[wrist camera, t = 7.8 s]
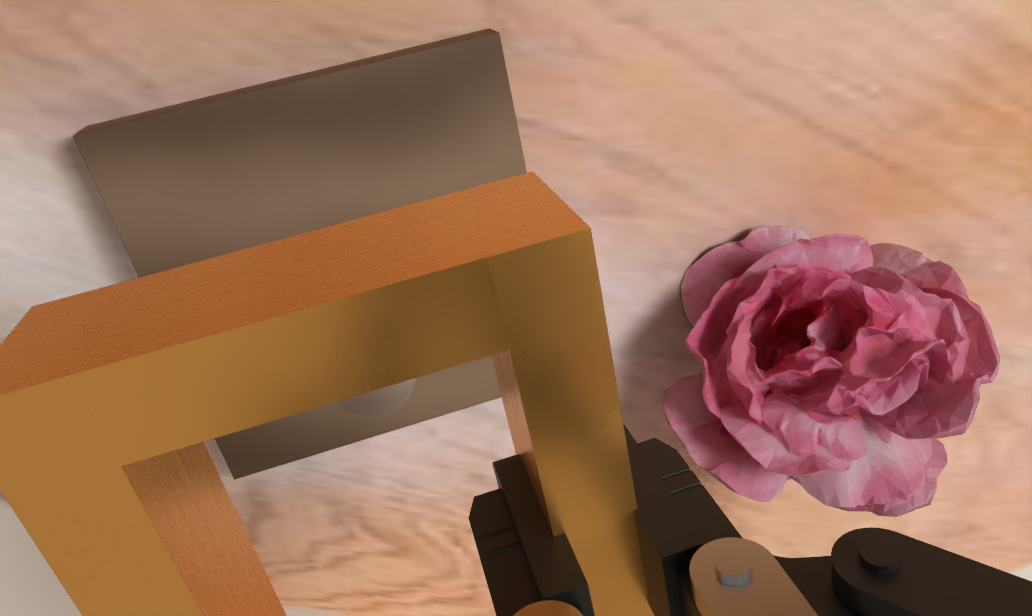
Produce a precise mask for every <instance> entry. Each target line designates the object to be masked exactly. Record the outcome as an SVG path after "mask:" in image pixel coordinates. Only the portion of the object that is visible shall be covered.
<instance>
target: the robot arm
mask: <svg viewBox="0 0 1032 616" xmlns="http://www.w3.org/2000/svg"><path fill="white" fill-rule="evenodd" d="M623 425H624V424H623ZM624 431H625V437H626V443H627V449H628V455H629V461H630V467H631V473H632V479H633V485H634V491H635V497H636V503H637V509H635V510H633V511H634V516H635V522H636V528H637V534H638V540H639V546H640V552H641V558H642V564H643V570H644V576H645V582H646V588H647V593H648V599H649V605H650V608H651V610H652V612H653V614H654V616H1032V582H1031V581H1028V580H1026V579H1023V578H1020V577H1018V576H1015V575H1012V574H1009V573H1007V572H1004V571H1001V570H999V569H996V568H993V567H990V566H988V565H985V564H982V563H979V562H977V561H974V560H971V559H968V558H966V557H963V556H960V555H958V554H955V553H952V552H949V551H947V550H944V549H941V548H938V547H936V546H933V545H930V544H927V543H925V542H922V541H919V540H916V539H914V538H911V537H908V536H906V535H903V534H900V533H897V532H894V531H891V530H887V529H882V528H861V529H856V530H853V531H850V532H848V533H846V534H844V535H842V536H841V537H840V538H839V539H838V540H837V541H836V542H835V544H834V546H833V548H832V552H831V556H822V557H807V558H785V557H778V556H773V555H772V554H771V553H770V552H769V551H768V550H767V549H766V548H765V547H763V546H761V545H760V544H758V543H756V542H753V541H751V540H747V539H743V538H742V537H741V535H740V534H739V533H738V531H737V530H736V529H735V527H734V526H733V525H732V523H731V522H730V521H729V519H728V518H727V517H726V515H725V514H724V513H723V511H722V510H721V509H720V507H719V506H718V505H717V503H716V502H715V501H714V499H713V498H712V497H711V495H710V494H709V493H708V491H707V490H706V489H705V487H704V486H703V485H701V484H700V481H699V479H698V478H697V477H696V475H695V474H694V473H693V471H690V468H689V466H688V465H687V463H686V462H685V461H684V459H683V458H682V457H681V455H680V454H679V453H678V451H677V450H676V449H674V448H672V447H670V446H669V445H667V444H665V443H663V442H661V441H660V440H658V439H656V438H653V439H650V440H647V441H644V442H641V443H638V444H637V443H636V441H635V440H634V438H633V437H632V435H631V434H630V432H629V431H628V429H627V428H626V426H625V425H624ZM493 468H494V472H495V475H496V479H497V483H498V487H499V489H497V490H494V491H491V492H487V493H484V494H481V495H478V496H475V497H474V500H473V504H472V507H471V511H470V515H469V521H470V524H471V528H472V531H473V535H474V538H475V542H476V545H477V549H478V552H479V556H480V559H481V563H482V566H483V570H484V573H485V577H486V580H487V584H488V587H489V591H490V594H491V598H492V601H493V605H494V608H495V612H496V615H497V616H595V614H594V610H593V605H592V600H591V596H590V591H589V586H588V583H587V581H586V578H585V576H584V574H583V572H582V569H581V567H580V565H579V563H578V560H577V558H576V556H575V554H574V551H573V549H572V547H571V545H570V543H569V540H568V538H567V536H566V534H565V533H563V534H560V535H557V536H553V533H552V531H551V529H550V526H549V524H548V521H547V519H546V517H545V514H544V512H543V509H542V507H541V504H540V502H539V500H538V497H537V495H536V492H535V490H534V488H533V485H532V483H531V480H530V478H529V475H528V473H527V471H526V468H525V466H524V463H523V461H522V459H521V456H520V455H519V454H517V455H514V456H511V457H508V458H505V459H502V460H499V461H495V462H493Z"/></svg>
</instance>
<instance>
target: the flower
mask: <svg viewBox="0 0 1032 616" xmlns="http://www.w3.org/2000/svg"><path fill="white" fill-rule="evenodd" d="M680 288H681V296H682V302H683V307H684V312H685V315H686V317H687V319H688V321H689V322H690V324H691V326H692V327H693V329H692V330H691V331H690V333H689V334H688V335H687V336H686V340H685V347H686V348H687V349H688V351H689V352H690V353H691V354H692V355H693V356H694V357H695V358H696V360H697V361H698V362H699V363H700V364H701V366H702V374H699V375H694V376H690V377H686V378H683V379H681V380H680V381H678V382H677V383H675V384H674V385H672V386H671V387H669V388H668V389H667V390H665V391H664V396H665V400H664V404H663V408H664V411H665V414H666V417H667V420H668V423H669V425H670V426H671V428H672V429H673V431H674V432H675V434H676V435H677V437H678V438H679V440H680V441H681V442H682V444H683V445H684V447H685V449H686V450H687V452H688V454H689V455H690V457H691V458H692V459H693V460H694V461H695V462H696V463H697V465H698V466H700V467H701V468H703V469H704V470H706V471H707V472H708V473H710V474H711V475H712V476H713V477H715V478H716V479H717V480H719V481H720V482H721V483H723V484H724V485H725V486H727V487H728V488H729V489H730V490H732V491H734V492H736V493H738V494H740V495H742V496H745V497H747V498H750V499H752V500H756V501H765V502H768V501H770V500H771V499H773V498H774V497H775V496H777V495H778V494H779V493H780V492H781V490H782V488H783V486H784V484H785V482H786V480H789V479H793V480H795V481H796V482H798V483H799V484H800V485H802V486H803V488H804V489H805V490H806V491H807V492H808V493H809V494H810V495H812V496H813V497H815V498H816V499H817V500H819V501H820V502H822V503H823V504H825V505H826V506H830V507H834V508H838V509H842V510H847V511H868V512H873V513H875V514H876V515H878V516H894V517H897V516H900V515H903V514H906V513H908V512H911V511H913V510H915V509H918V508H921V507H924V506H927V505H930V504H931V502H932V499H933V496H934V494H935V491H936V487H937V477H938V475H939V474H940V473H941V471H942V470H943V468H944V467H945V465H946V464H947V454H946V451H945V448H944V445H943V444H942V443H941V442H940V441H938V440H937V439H936V438H943V437H949V436H955V435H961V434H963V433H965V432H966V430H967V428H968V427H969V425H970V424H971V422H972V420H973V417H974V414H975V411H976V408H977V405H978V402H979V400H980V395H979V387H980V385H981V384H985V383H992V382H993V381H994V379H995V378H996V376H997V374H998V368H999V363H1000V355H999V352H998V350H997V347H996V344H995V340H994V337H993V334H992V331H991V328H990V326H989V324H988V322H987V320H986V318H985V316H984V314H983V312H982V310H981V308H980V306H979V305H977V304H975V303H974V302H972V301H970V300H969V298H968V295H967V292H966V289H965V287H964V285H963V283H962V281H961V279H960V277H959V276H958V274H957V273H956V272H955V270H954V269H953V268H952V267H951V266H949V265H947V264H945V263H943V262H941V261H937V262H933V261H931V260H929V259H927V258H926V257H925V256H924V255H923V254H922V253H920V252H918V251H915V250H913V249H910V248H908V247H904V246H901V245H897V244H890V243H879V244H875V245H871V246H870V245H869V243H868V241H867V240H865V239H863V238H861V237H859V236H854V235H849V234H833V235H829V236H824V237H819V238H814V239H811V238H810V237H809V236H808V235H807V234H806V232H804V231H803V230H799V229H795V228H789V227H782V226H779V227H755V228H754V229H753V230H752V231H751V232H750V233H749V234H748V236H747V237H746V238H745V239H743V240H741V241H735V242H728V243H725V244H723V245H720V246H718V247H715V248H714V249H712V250H711V251H709V252H707V253H706V254H705V255H704V256H703V257H701V258H700V259H699V260H698V261H696V262H695V263H693V264H692V265H691V266H689V268H688V269H687V271H686V272H685V273H684V277H683V280H682V283H681V287H680Z"/></svg>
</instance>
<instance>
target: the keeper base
mask: <svg viewBox="0 0 1032 616" xmlns="http://www.w3.org/2000/svg"><path fill="white" fill-rule="evenodd" d="M73 137H74V139H75V141H76V143H77V146H78V148H79V150H80V152H81V154H82V156H83V158H84V160H85V163H86V165H87V167H88V169H89V171H90V173H91V175H92V177H93V180H94V182H95V184H96V186H97V188H98V190H99V192H100V195H101V197H102V199H103V201H104V203H105V205H106V207H107V209H108V212H109V214H110V216H111V218H112V220H113V222H114V224H115V227H116V229H117V231H118V233H119V235H120V237H121V239H122V241H123V244H124V246H125V248H126V250H127V252H128V254H129V256H130V258H131V261H132V263H133V265H134V267H135V269H136V271H137V273H138V276H139V278H140V277H144V276H147V275H151V274H155V273H159V272H162V271H166V270H170V269H173V268H177V267H181V266H184V265H188V264H192V263H196V262H199V261H203V260H207V259H210V258H214V257H218V256H221V255H225V254H229V253H232V252H236V251H240V250H244V249H247V248H251V247H255V246H258V245H262V244H266V243H269V242H273V241H277V240H281V239H284V238H288V237H292V236H295V235H299V234H303V233H306V232H310V231H314V230H318V229H321V228H325V227H329V226H332V225H336V224H340V223H343V222H347V221H351V220H355V219H358V218H362V217H366V216H369V215H373V214H377V213H380V212H384V211H388V210H392V209H395V208H399V207H403V206H406V205H410V204H414V203H417V202H421V201H425V200H429V199H432V198H436V197H440V196H443V195H447V194H451V193H454V192H458V191H462V190H465V189H469V188H473V187H477V186H480V185H484V184H488V183H491V182H495V181H499V180H502V179H506V178H510V177H514V176H517V175H521V174H525V173H527V172H526V167H525V161H524V156H523V151H522V146H521V141H520V136H519V131H518V126H517V121H516V116H515V111H514V106H513V101H512V96H511V91H510V86H509V80H508V75H507V70H506V65H505V60H504V55H503V50H502V45H501V40H500V35H499V32H496V31H494V30H491V29H485V30H481V31H477V32H473V33H469V34H465V35H461V36H457V37H452V38H448V39H444V40H440V41H436V42H432V43H428V44H424V45H419V46H415V47H411V48H407V49H403V50H399V51H395V52H391V53H386V54H382V55H378V56H374V57H370V58H366V59H362V60H358V61H353V62H349V63H345V64H341V65H337V66H333V67H329V68H325V69H320V70H316V71H312V72H308V73H304V74H300V75H296V76H292V77H287V78H283V79H279V80H275V81H271V82H267V83H263V84H259V85H254V86H250V87H246V88H242V89H238V90H234V91H230V92H226V93H221V94H217V95H213V96H209V97H205V98H201V99H197V100H193V101H188V102H184V103H180V104H176V105H172V106H168V107H164V108H160V109H155V110H151V111H147V112H143V113H139V114H135V115H131V116H127V117H122V118H118V119H114V120H110V121H106V122H102V123H98V124H94V125H89V126H86V127H85V128H83V129H82V130H81V131H79V132H78V133H77V134H75V135H74V136H73ZM500 397H502V396H501V392H500V388H499V384H498V380H497V376H496V372H495V368H494V364H493V360H492V356H488V357H484V358H481V359H478V360H474V361H471V362H468V363H464V364H461V365H458V366H454V367H451V368H448V369H444V370H441V371H438V372H434V373H431V374H428V375H424V376H421V377H418V378H414V379H411V380H408V381H404V382H401V383H398V384H394V385H391V386H388V387H384V388H381V389H378V390H374V391H371V392H368V393H364V394H361V395H358V396H354V397H351V398H348V399H344V400H341V401H338V402H334V403H331V404H328V405H324V406H321V407H318V408H314V409H311V410H308V411H304V412H301V413H298V414H294V415H291V416H287V417H284V418H281V419H277V420H274V421H271V422H267V423H264V424H261V425H257V426H254V427H251V428H247V429H244V430H241V431H237V432H234V433H231V434H227V435H224V436H221V437H217V438H215V440H216V442H217V444H218V446H219V448H220V450H221V452H222V455H223V457H224V459H225V461H226V463H227V465H228V467H229V470H230V472H231V474H232V476H233V478H234V479H237V478H241V477H244V476H247V475H250V474H254V473H257V472H260V471H263V470H267V469H270V468H273V467H276V466H280V465H283V464H286V463H289V462H293V461H296V460H299V459H302V458H306V457H309V456H312V455H315V454H319V453H322V452H325V451H328V450H332V449H335V448H338V447H341V446H345V445H348V444H351V443H354V442H358V441H361V440H364V439H367V438H371V437H374V436H377V435H380V434H384V433H387V432H390V431H393V430H396V429H400V428H403V427H406V426H409V425H413V424H416V423H419V422H422V421H426V420H429V419H432V418H435V417H439V416H442V415H445V414H448V413H452V412H455V411H458V410H461V409H465V408H468V407H471V406H474V405H478V404H481V403H484V402H487V401H491V400H494V399H497V398H500Z"/></svg>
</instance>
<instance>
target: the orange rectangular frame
mask: <svg viewBox="0 0 1032 616" xmlns="http://www.w3.org/2000/svg"><path fill="white" fill-rule="evenodd" d="M488 356H492V360H493V364H494V368H495V372H496V376H497V380H498V384H499V388H500V392H501V396H502V400H503V404H504V408H505V412H506V416H507V420H508V424H509V428H510V432H511V436H512V440H513V444H514V448H515V452H516V455H517V454H519V455H520V456H521V459H522V461H523V463H524V466H525V468H526V471H527V473H528V475H529V478H530V480H531V483H532V485H533V488H534V490H535V492H536V495H537V497H538V500H539V502H540V504H541V507H542V509H543V512H544V514H545V517H546V519H547V521H548V524H549V526H550V529H551V531H552V533H553V536H557V535H560V534H563V533H565V534H566V536H567V538H568V540H569V543H570V545H571V547H572V549H573V551H574V554H575V556H576V558H577V560H578V563H579V565H580V567H581V569H582V572H583V574H584V576H585V578H586V581H587V583H588V586H589V591H590V596H591V600H592V605H593V610H594V614H595V616H654V614H653V612H652V610H651V608H650V605H649V599H648V593H647V588H646V582H645V576H644V570H643V564H642V558H641V552H640V546H639V540H638V534H637V528H636V522H635V516H634V511H633V510H635V509H637V503H636V497H635V491H634V485H633V479H632V473H631V467H630V461H629V455H628V449H627V443H626V437H625V431H624V425H623V419H622V413H621V407H620V401H619V395H618V389H617V383H616V377H615V371H614V365H613V359H612V353H611V347H610V341H609V335H608V329H607V323H606V317H605V311H604V305H603V299H602V293H601V287H600V281H599V275H598V269H597V263H596V257H595V251H594V245H593V239H592V233H591V228H590V227H589V226H588V225H587V224H586V223H585V222H584V221H583V220H582V219H581V218H580V217H579V216H578V215H577V214H576V213H575V212H574V211H573V210H572V209H571V208H570V207H569V206H568V205H567V204H565V203H564V202H563V201H562V200H561V199H560V198H559V197H558V196H557V195H556V194H555V193H554V192H553V191H552V190H551V189H550V188H549V187H548V186H547V185H546V184H545V183H544V182H543V181H542V180H541V179H540V178H539V177H538V176H537V175H536V174H535V173H534V172H533V171H532V172H528V173H525V174H521V175H517V176H514V177H510V178H506V179H502V180H499V181H495V182H491V183H488V184H484V185H480V186H477V187H473V188H469V189H465V190H462V191H458V192H454V193H451V194H447V195H443V196H440V197H436V198H432V199H429V200H425V201H421V202H417V203H414V204H410V205H406V206H403V207H399V208H395V209H392V210H388V211H384V212H380V213H377V214H373V215H369V216H366V217H362V218H358V219H355V220H351V221H347V222H343V223H340V224H336V225H332V226H329V227H325V228H321V229H318V230H314V231H310V232H306V233H303V234H299V235H295V236H292V237H288V238H284V239H281V240H277V241H273V242H269V243H266V244H262V245H258V246H255V247H251V248H247V249H244V250H240V251H236V252H232V253H229V254H225V255H221V256H218V257H214V258H210V259H207V260H203V261H199V262H196V263H192V264H188V265H184V266H181V267H177V268H173V269H170V270H166V271H162V272H159V273H155V274H151V275H147V276H144V277H140V278H136V279H133V280H129V281H125V282H122V283H118V284H114V285H110V286H107V287H103V288H99V289H96V290H92V291H88V292H85V293H81V294H77V295H73V296H70V297H66V298H62V299H59V300H55V301H51V302H48V303H44V304H40V305H36V306H33V307H31V309H30V310H29V311H28V312H27V313H26V315H25V316H24V317H23V318H22V320H21V321H20V322H19V323H18V324H17V326H16V327H15V328H14V329H13V331H12V332H11V333H10V334H9V335H8V337H7V338H6V339H5V340H4V342H3V343H2V344H1V345H0V490H1V492H2V493H3V495H4V496H5V498H6V500H7V501H8V503H9V504H10V506H11V507H12V509H13V510H14V512H15V513H16V515H17V516H18V518H19V519H20V521H21V522H22V524H23V525H24V527H25V528H26V530H27V532H28V533H29V535H30V536H31V538H32V539H33V541H34V542H35V544H36V545H37V547H38V548H39V550H40V551H41V553H42V554H43V556H44V557H45V559H46V561H47V562H48V563H49V565H50V567H51V568H52V570H53V571H54V573H55V574H56V576H57V577H58V579H59V580H60V582H61V583H62V585H63V587H64V588H65V590H66V591H67V593H68V594H69V596H70V597H71V599H72V600H73V602H74V603H75V605H76V606H77V608H78V609H79V611H80V613H81V614H82V616H286V614H285V612H284V609H283V607H282V605H281V603H280V601H279V599H278V597H277V595H276V593H275V591H274V589H273V587H272V585H271V582H270V580H269V578H268V576H267V574H266V572H265V570H264V568H263V566H262V564H261V562H260V560H259V558H258V555H257V553H256V551H255V549H254V547H253V545H252V543H251V541H250V539H249V537H248V535H247V533H246V531H245V528H244V526H243V524H242V522H241V520H240V518H239V516H238V514H237V512H236V510H235V508H234V506H233V503H232V501H231V499H230V497H229V495H228V493H227V491H226V489H225V487H224V485H223V483H222V481H221V479H220V476H219V474H218V472H217V470H216V468H215V466H214V464H213V462H212V460H211V458H210V456H209V454H208V452H207V449H206V447H205V445H204V443H203V442H204V441H207V440H211V439H214V438H217V437H221V436H224V435H227V434H231V433H234V432H237V431H241V430H244V429H247V428H251V427H254V426H257V425H261V424H264V423H267V422H271V421H274V420H277V419H281V418H284V417H287V416H291V415H294V414H298V413H301V412H304V411H308V410H311V409H314V408H318V407H321V406H324V405H328V404H331V403H334V402H338V401H341V400H344V399H348V398H351V397H354V396H358V395H361V394H364V393H368V392H371V391H374V390H378V389H381V388H384V387H388V386H391V385H394V384H398V383H401V382H404V381H408V380H411V379H414V378H418V377H421V376H424V375H428V374H431V373H434V372H438V371H441V370H444V369H448V368H451V367H454V366H458V365H461V364H464V363H468V362H471V361H474V360H478V359H481V358H484V357H488Z"/></svg>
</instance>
